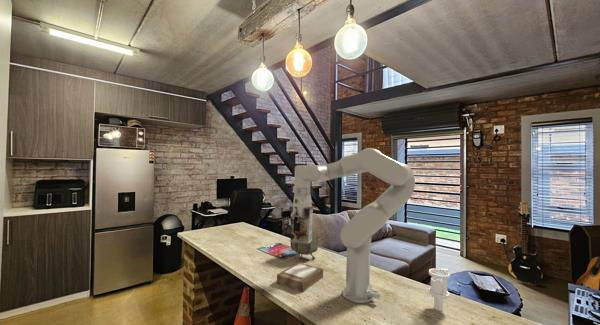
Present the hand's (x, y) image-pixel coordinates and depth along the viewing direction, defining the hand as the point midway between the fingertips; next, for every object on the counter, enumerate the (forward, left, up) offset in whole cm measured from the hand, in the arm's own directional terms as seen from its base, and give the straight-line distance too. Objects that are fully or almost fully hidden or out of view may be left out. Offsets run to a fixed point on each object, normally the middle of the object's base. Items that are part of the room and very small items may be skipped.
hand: (301, 229), depth 120 cm
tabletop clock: (+14, -24, -24) cm, 37 cm away
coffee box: (0, 0, -6) cm, 6 cm away
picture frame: (0, 0, -24) cm, 24 cm away
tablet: (+33, -27, -24) cm, 49 cm away
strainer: (-56, -11, -24) cm, 62 cm away
